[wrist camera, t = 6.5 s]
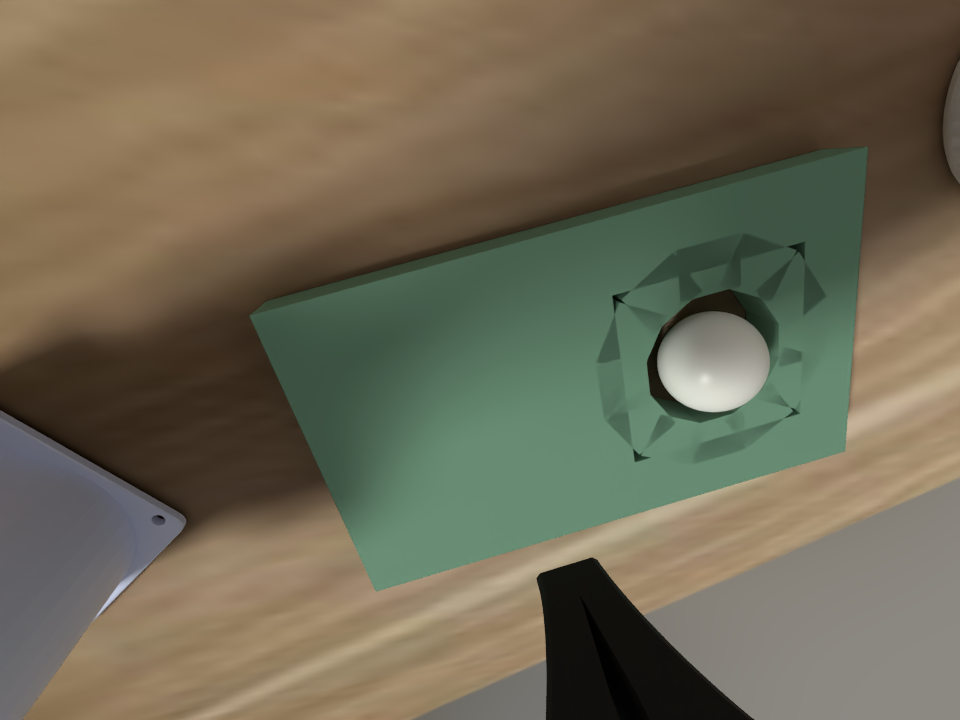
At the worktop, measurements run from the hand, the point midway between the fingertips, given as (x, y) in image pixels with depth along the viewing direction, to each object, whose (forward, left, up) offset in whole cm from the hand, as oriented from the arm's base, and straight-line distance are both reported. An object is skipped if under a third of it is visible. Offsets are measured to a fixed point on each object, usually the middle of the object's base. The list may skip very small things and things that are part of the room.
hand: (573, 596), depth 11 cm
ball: (+4, +7, -8) cm, 12 cm away
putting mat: (+2, +3, -10) cm, 11 cm away
